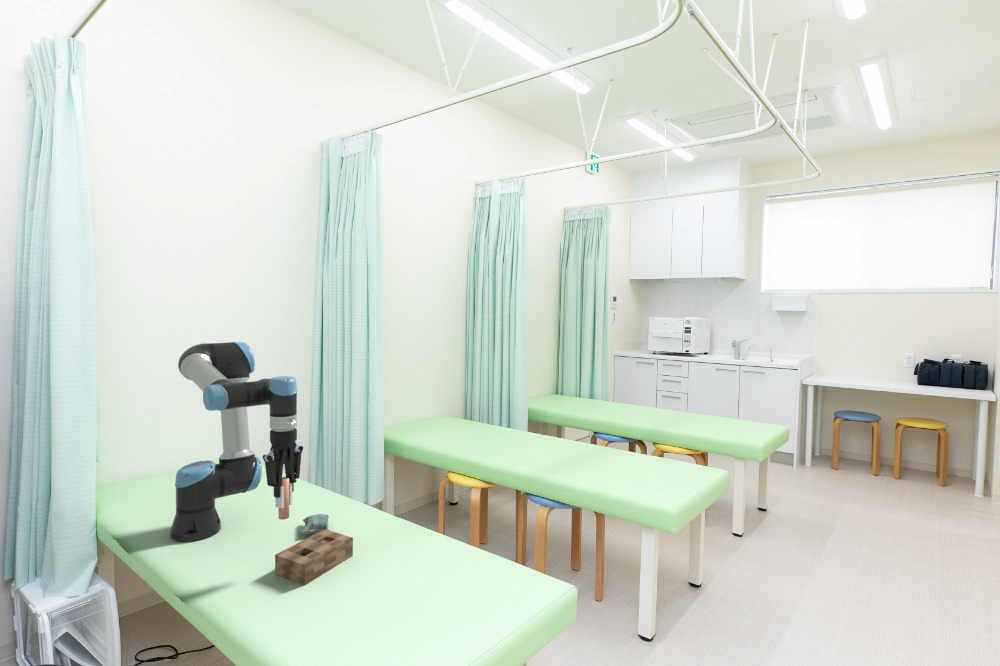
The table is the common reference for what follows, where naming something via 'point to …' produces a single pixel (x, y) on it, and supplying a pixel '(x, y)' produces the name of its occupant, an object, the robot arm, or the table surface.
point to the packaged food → (315, 523)
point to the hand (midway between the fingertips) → (283, 505)
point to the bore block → (313, 556)
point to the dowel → (285, 500)
